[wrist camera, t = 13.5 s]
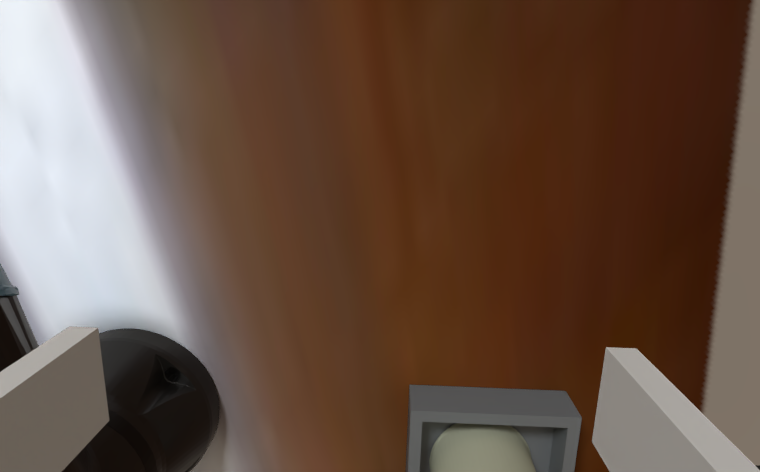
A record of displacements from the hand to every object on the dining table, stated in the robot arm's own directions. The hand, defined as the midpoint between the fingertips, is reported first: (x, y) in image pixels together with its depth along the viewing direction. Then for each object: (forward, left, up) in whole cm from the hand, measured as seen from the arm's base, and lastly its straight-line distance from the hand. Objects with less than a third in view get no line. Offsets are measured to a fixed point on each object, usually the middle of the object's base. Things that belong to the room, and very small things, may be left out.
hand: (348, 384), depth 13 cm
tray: (+10, -24, -29) cm, 39 cm away
